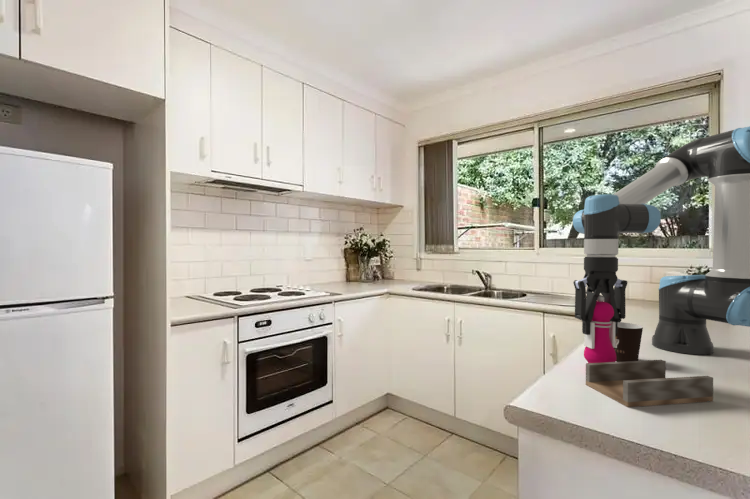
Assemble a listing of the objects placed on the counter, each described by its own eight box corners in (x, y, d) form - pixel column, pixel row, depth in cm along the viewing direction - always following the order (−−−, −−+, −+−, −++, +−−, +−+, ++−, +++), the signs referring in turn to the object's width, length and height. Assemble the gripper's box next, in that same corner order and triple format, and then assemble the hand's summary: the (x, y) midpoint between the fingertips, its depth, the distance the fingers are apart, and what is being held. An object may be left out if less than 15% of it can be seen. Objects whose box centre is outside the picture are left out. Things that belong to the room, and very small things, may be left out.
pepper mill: (588, 366, 103) (589, 292, 102) (619, 372, 97) (620, 295, 97) (579, 372, 98) (580, 295, 97) (611, 380, 92) (612, 298, 92)
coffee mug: (648, 365, 103) (649, 329, 103) (613, 363, 105) (614, 327, 104) (629, 353, 114) (629, 320, 114) (597, 352, 116) (598, 319, 116)
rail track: (660, 380, 92) (661, 359, 92) (712, 401, 80) (713, 377, 80) (585, 384, 90) (585, 363, 89) (627, 407, 77) (627, 382, 77)
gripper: (621, 255, 102) (620, 341, 102) (558, 255, 99) (558, 344, 100) (644, 256, 94) (643, 349, 95) (577, 256, 92) (577, 352, 92)
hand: (599, 346), depth 97 cm, fingers closed on pepper mill, 5 cm apart
